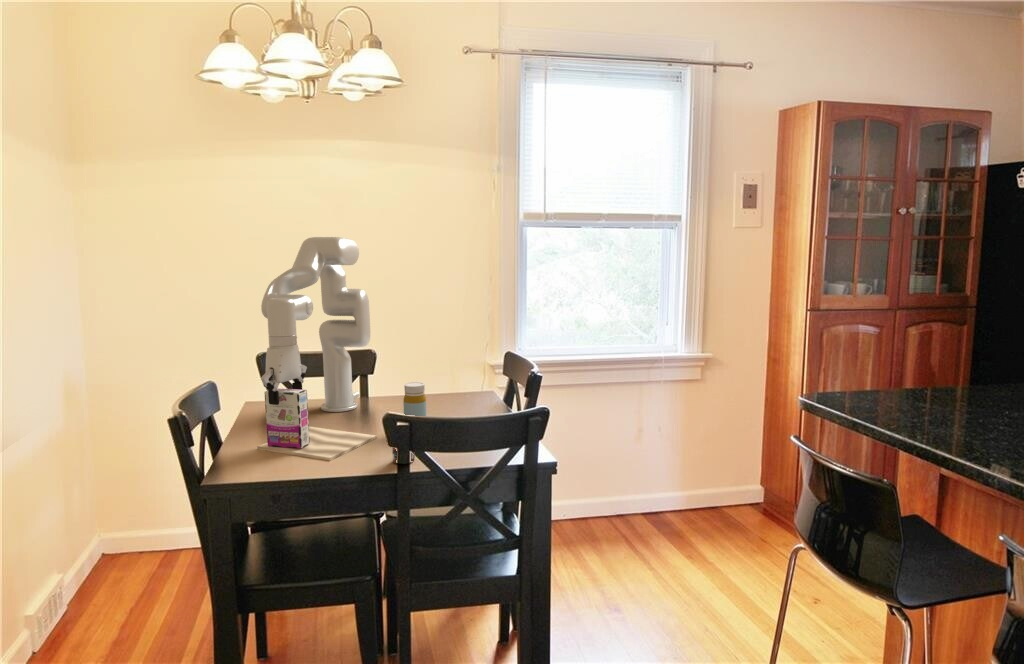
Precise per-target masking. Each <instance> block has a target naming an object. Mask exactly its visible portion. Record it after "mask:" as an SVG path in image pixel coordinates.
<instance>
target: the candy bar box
mask: <svg viewBox="0 0 1024 664" xmlns="http://www.w3.org/2000/svg"><path fill="white" fill-rule="evenodd" d="M277 391H278V392H279V404H278V405H273V404H269V397H268V391H267V390H266V391H264V404H265V405H264V407H265V422H266V423H265V424H266V439H267V442H268V446H269V447H283V448H297V449H302V448H304V447H305V446H307V445H309V444H310V438H309V427H310V423H309V407H308V404H309V403H308V390H307V389H302V390H300V389H292V388H277Z"/></svg>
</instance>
